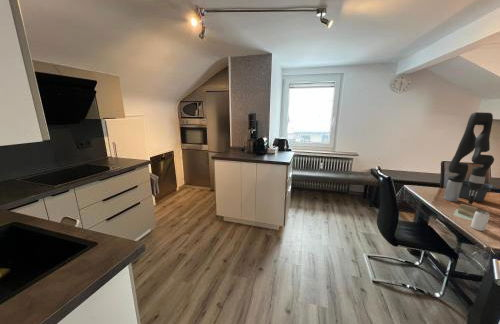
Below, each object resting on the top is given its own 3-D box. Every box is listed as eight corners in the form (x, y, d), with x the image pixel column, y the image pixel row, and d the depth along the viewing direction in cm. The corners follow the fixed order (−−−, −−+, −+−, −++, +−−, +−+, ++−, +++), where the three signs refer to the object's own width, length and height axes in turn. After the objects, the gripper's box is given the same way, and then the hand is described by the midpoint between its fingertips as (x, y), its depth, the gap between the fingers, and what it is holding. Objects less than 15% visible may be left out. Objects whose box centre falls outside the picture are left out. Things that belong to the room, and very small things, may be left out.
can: (471, 228, 135) (476, 212, 132) (469, 224, 140) (474, 208, 137) (485, 232, 131) (491, 215, 128) (483, 228, 136) (489, 211, 133)
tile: (458, 211, 157) (460, 203, 155) (475, 216, 150) (477, 207, 148) (457, 212, 155) (460, 204, 154) (474, 217, 149) (477, 208, 147)
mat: (456, 209, 162) (456, 208, 161) (478, 215, 153) (478, 214, 152) (453, 216, 152) (453, 215, 151) (476, 222, 143) (477, 222, 143)
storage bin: (451, 196, 187) (455, 181, 184) (454, 191, 197) (458, 177, 193) (486, 204, 171) (491, 188, 168) (487, 199, 181) (492, 184, 177)
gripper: (469, 178, 157) (464, 199, 161) (468, 181, 149) (462, 204, 153) (484, 181, 152) (478, 202, 156) (483, 184, 144) (476, 207, 148)
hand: (470, 203), depth 154 cm, fingers closed
